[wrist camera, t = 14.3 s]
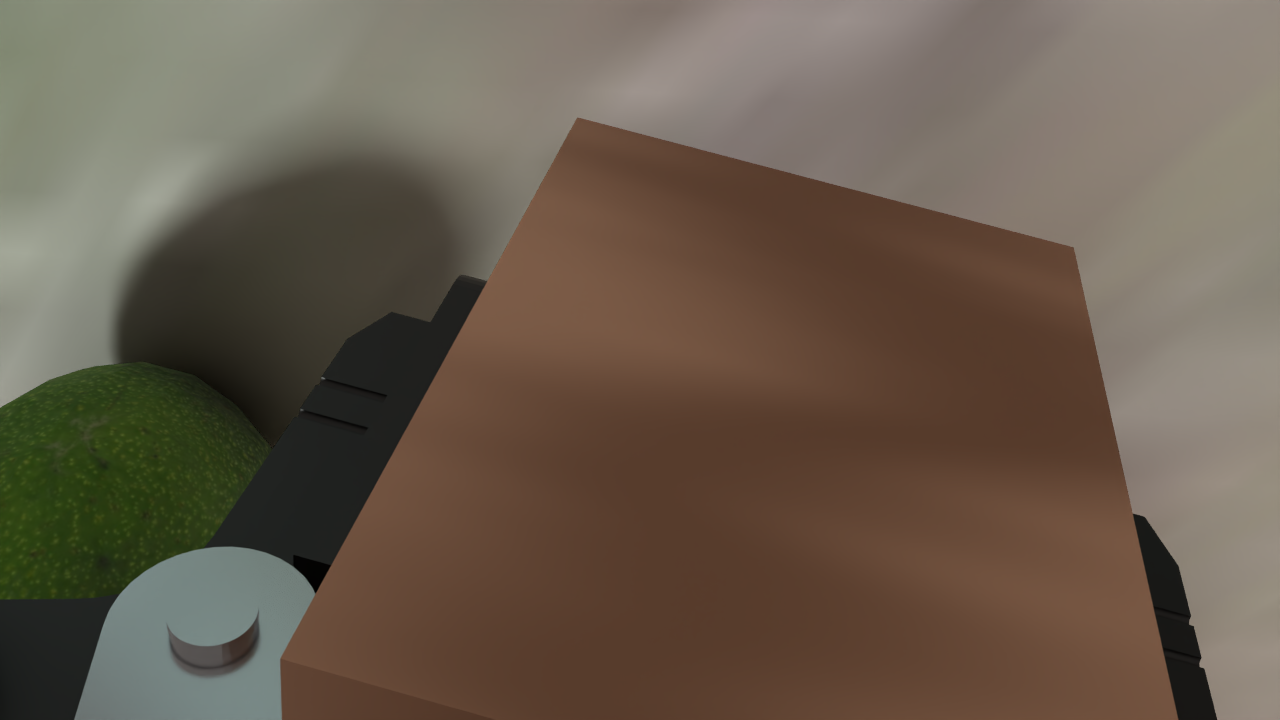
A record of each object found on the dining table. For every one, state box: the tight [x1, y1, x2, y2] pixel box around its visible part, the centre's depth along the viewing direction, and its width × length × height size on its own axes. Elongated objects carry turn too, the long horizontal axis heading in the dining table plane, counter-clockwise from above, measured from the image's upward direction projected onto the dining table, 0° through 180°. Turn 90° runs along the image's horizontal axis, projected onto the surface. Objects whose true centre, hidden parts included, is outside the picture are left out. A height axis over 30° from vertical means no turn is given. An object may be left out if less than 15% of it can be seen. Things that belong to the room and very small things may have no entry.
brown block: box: [280, 118, 1178, 720], centre depth 9 cm, size 4×4×6 cm
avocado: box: [0, 362, 272, 599], centre depth 26 cm, size 8×8×12 cm
